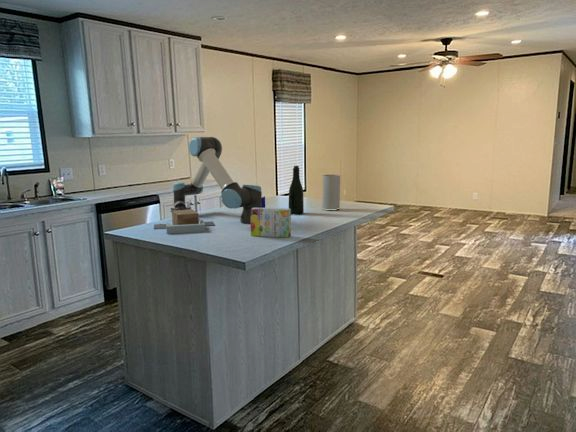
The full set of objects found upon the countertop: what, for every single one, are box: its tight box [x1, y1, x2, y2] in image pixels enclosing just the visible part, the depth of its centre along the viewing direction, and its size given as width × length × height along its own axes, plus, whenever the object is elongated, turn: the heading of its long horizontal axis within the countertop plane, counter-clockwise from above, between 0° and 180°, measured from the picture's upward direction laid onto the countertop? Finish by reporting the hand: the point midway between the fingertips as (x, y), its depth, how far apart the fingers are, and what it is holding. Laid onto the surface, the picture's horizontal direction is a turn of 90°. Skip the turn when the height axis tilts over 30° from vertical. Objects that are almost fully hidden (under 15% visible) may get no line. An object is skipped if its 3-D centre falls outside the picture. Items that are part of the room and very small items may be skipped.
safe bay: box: [165, 219, 206, 235], centre depth 250 cm, size 14×21×4 cm, turn 106°
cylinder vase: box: [321, 174, 341, 209], centre depth 318 cm, size 12×12×25 cm
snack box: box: [250, 207, 292, 239], centre depth 235 cm, size 21×6×15 cm, turn 77°
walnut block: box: [171, 208, 200, 225], centre depth 260 cm, size 16×12×9 cm
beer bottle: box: [288, 165, 305, 215], centre depth 301 cm, size 10×10×33 cm
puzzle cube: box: [262, 195, 266, 208], centre depth 315 cm, size 10×10×10 cm
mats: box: [153, 220, 216, 230], centre depth 263 cm, size 12×35×1 cm, turn 106°
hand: (181, 213), depth 267 cm, fingers closed
